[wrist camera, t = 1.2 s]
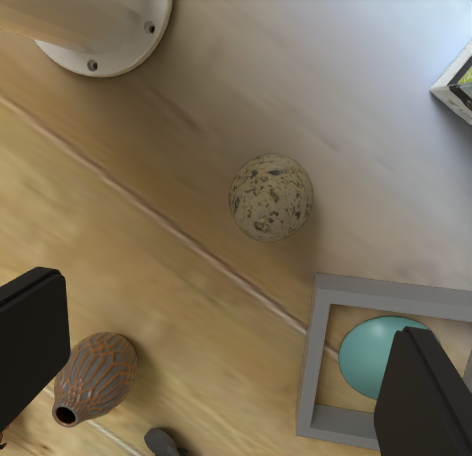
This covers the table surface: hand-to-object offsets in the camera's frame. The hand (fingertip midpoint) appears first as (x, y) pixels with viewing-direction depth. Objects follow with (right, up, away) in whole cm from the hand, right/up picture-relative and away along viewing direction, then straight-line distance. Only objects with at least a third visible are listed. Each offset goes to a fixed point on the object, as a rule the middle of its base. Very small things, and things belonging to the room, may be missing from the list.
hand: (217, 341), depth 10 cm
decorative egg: (+4, +7, +19) cm, 21 cm away
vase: (-12, -10, +27) cm, 32 cm away
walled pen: (+15, -9, +22) cm, 28 cm away
